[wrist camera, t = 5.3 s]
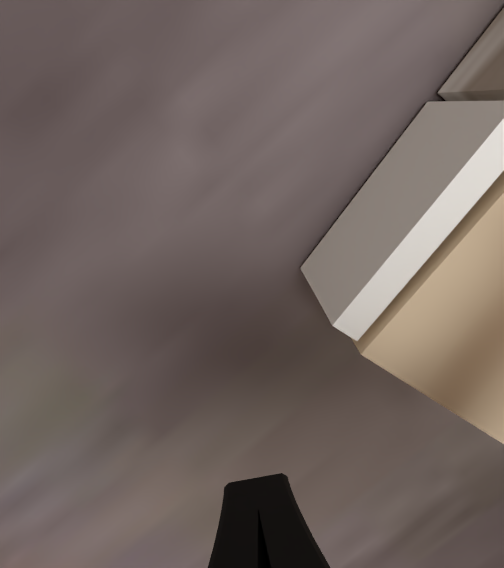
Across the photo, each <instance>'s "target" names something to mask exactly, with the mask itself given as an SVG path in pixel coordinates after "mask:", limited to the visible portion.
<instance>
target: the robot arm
mask: <svg viewBox="0 0 504 568" xmlns="http://www.w3.org/2000/svg"><path fill="white" fill-rule="evenodd" d="M208 568H330V566H329V564H328V563H327V561H326V559H325V557H324V556H323V554H322V552H321V550H320V548H319V547H318V545H317V543H316V541H315V540H314V538H313V536H312V534H311V532H310V530H309V528H308V526H307V524H306V522H305V520H304V518H303V516H302V514H301V512H300V509H299V507H298V505H297V503H296V500H295V498H294V495H293V493H292V490H291V487H290V484H289V481H288V477H287V476H286V475H284V474H282V473H280V474H275V475H269V476H264V477H258V478H253V479H247V480H242V481H236V482H231V483H228V484H227V485H226V486H225V488H224V497H223V504H222V510H221V516H220V521H219V526H218V530H217V534H216V539H215V543H214V547H213V551H212V554H211V558H210V562H209V565H208Z"/></svg>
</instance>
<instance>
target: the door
mask: <svg viewBox="0 0 504 568" xmlns="http://www.w3.org/2000/svg"><path fill="white" fill-rule="evenodd" d="M503 171H504V101H433V102H427V103H426V104H425V106H424V107H423V108H422V109H421V111H420V112H419V113H418V115H417V116H416V117H415V119H414V120H413V121H412V123H411V124H410V125H409V126H408V128H407V129H406V130H405V132H404V133H403V134H402V136H401V137H400V138H399V140H398V141H397V142H396V143H395V145H394V146H393V147H392V149H391V150H390V151H389V153H388V154H387V155H386V157H385V158H384V159H383V160H382V162H381V163H380V164H379V166H378V167H377V168H376V170H375V171H374V172H373V174H372V175H371V176H370V177H369V179H368V180H367V181H366V183H365V184H364V185H363V187H362V188H361V189H360V191H359V192H358V193H357V194H356V196H355V197H354V198H353V200H352V201H351V202H350V204H349V205H348V206H347V208H346V209H345V210H344V211H343V213H342V214H341V215H340V217H339V218H338V219H337V221H336V222H335V223H334V225H333V226H332V227H331V228H330V230H329V231H328V232H327V234H326V235H325V236H324V238H323V239H322V240H321V242H320V243H319V244H318V245H317V247H316V248H315V249H314V251H313V252H312V253H311V255H310V256H309V257H308V259H307V260H306V261H305V262H304V264H303V265H302V266H301V268H300V269H301V270H302V272H303V274H304V276H305V278H306V279H307V281H308V283H309V285H310V287H311V288H312V290H313V292H314V294H315V296H316V297H317V299H318V301H319V303H320V305H321V306H322V308H323V310H324V312H325V314H326V315H327V317H328V319H329V321H330V323H331V324H332V326H333V327H335V328H337V329H338V330H340V331H341V332H343V333H345V334H346V335H348V336H349V337H351V338H353V339H354V340H356V341H358V340H359V339H360V338H361V336H362V335H363V334H364V333H365V332H366V331H367V329H368V328H369V327H370V326H371V325H372V324H373V322H374V321H375V320H376V319H377V318H378V317H379V315H380V314H381V313H382V312H383V311H384V310H385V308H386V307H387V306H388V305H389V304H390V303H391V301H392V300H393V299H394V298H395V297H396V296H397V294H398V293H399V292H400V291H401V290H402V289H403V287H404V286H405V285H406V284H407V283H408V282H409V280H410V279H411V278H412V277H413V276H414V275H415V273H416V272H417V271H418V270H419V269H420V268H421V266H422V265H423V264H424V263H425V262H426V261H427V259H428V258H429V257H430V256H431V255H432V254H433V252H434V251H435V250H436V249H437V248H438V247H439V245H440V244H441V243H442V242H443V241H444V240H445V238H446V237H447V236H448V235H449V234H450V233H451V231H452V230H453V229H454V228H455V227H456V226H457V224H458V223H459V222H460V221H461V220H462V219H463V217H464V216H465V215H466V214H467V213H468V212H469V210H470V209H471V208H472V207H473V206H474V205H475V203H476V202H477V201H478V200H479V199H480V198H481V196H482V195H483V194H484V193H485V192H486V191H487V189H488V188H489V187H490V186H491V185H492V184H493V182H494V181H495V180H496V179H497V178H498V177H499V175H500V174H501V173H502V172H503Z"/></svg>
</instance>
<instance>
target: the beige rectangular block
mask: <svg viewBox="0 0 504 568" xmlns="http://www.w3.org/2000/svg"><path fill="white" fill-rule="evenodd" d="M438 94H439V95H440V96H441V97H442V98H444V99H445V100H446V101H504V8H503V9H502V10H501V12H500V13H499V14H498V16H497V17H496V18H495V19H494V21H493V22H492V23H491V25H490V26H489V27H488V28H487V30H486V31H485V32H484V34H483V35H482V36H481V37H480V39H479V40H478V41H477V43H476V44H475V45H474V46H473V48H472V49H471V50H470V52H469V53H468V54H467V55H466V57H465V58H464V59H463V61H462V62H461V63H460V64H459V66H458V67H457V68H456V70H455V71H454V72H453V73H452V75H451V76H450V77H449V79H448V80H447V81H446V82H445V84H444V85H443V86H442V87H441V89H440V90H439V91H438ZM351 339H352V341H353V342H354V344H355V346H356V347H357V349H358V350H359V352H360V354H361V355H363V356H364V357H366V358H367V359H369V360H371V361H372V362H374V363H375V364H377V365H378V366H380V367H382V368H383V369H385V370H386V371H388V372H390V373H391V374H393V375H394V376H396V377H398V378H399V379H401V380H402V381H404V382H406V383H407V384H409V385H410V386H412V387H413V388H415V389H417V390H418V391H420V392H421V393H423V394H425V395H426V396H428V397H429V398H431V399H433V400H434V401H436V402H437V403H439V404H441V405H442V406H444V407H445V408H447V409H449V410H450V411H452V412H453V413H455V414H456V415H458V416H460V417H461V418H463V419H464V420H466V421H468V422H469V423H471V424H472V425H474V426H476V427H477V428H479V429H480V430H482V431H484V432H485V433H487V434H488V435H490V436H491V437H493V438H495V439H496V440H498V441H499V442H501V443H503V444H504V171H503V172H502V173H501V174H500V175H499V177H498V178H497V179H496V180H495V181H494V182H493V184H492V185H491V186H490V187H489V188H488V189H487V191H486V192H485V193H484V194H483V195H482V196H481V198H480V199H479V200H478V201H477V202H476V203H475V205H474V206H473V207H472V208H471V209H470V210H469V212H468V213H467V214H466V215H465V216H464V217H463V219H462V220H461V221H460V222H459V223H458V224H457V226H456V227H455V228H454V229H453V230H452V231H451V233H450V234H449V235H448V236H447V237H446V238H445V240H444V241H443V242H442V243H441V244H440V245H439V247H438V248H437V249H436V250H435V251H434V252H433V254H432V255H431V256H430V257H429V258H428V259H427V261H426V262H425V263H424V264H423V265H422V266H421V268H420V269H419V270H418V271H417V272H416V273H415V275H414V276H413V277H412V278H411V279H410V280H409V282H408V283H407V284H406V285H405V286H404V287H403V289H402V290H401V291H400V292H399V293H398V294H397V296H396V297H395V298H394V299H393V300H392V301H391V303H390V304H389V305H388V306H387V307H386V308H385V310H384V311H383V312H382V313H381V314H380V315H379V317H378V318H377V319H376V320H375V321H374V322H373V324H372V325H371V326H370V327H369V328H368V329H367V331H366V332H365V333H364V334H363V335H362V336H361V338H360V339H359V340H358V341H356V340H354V339H353V338H351Z"/></svg>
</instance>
